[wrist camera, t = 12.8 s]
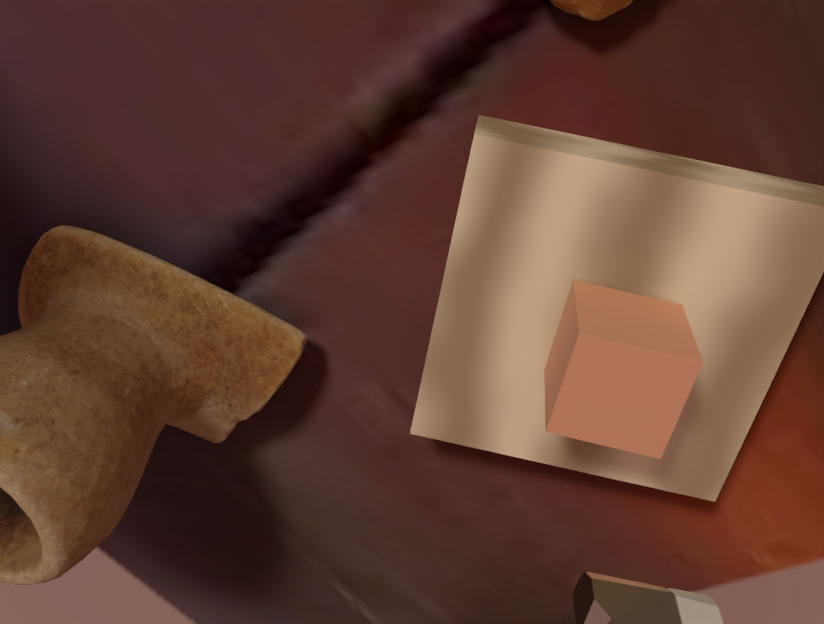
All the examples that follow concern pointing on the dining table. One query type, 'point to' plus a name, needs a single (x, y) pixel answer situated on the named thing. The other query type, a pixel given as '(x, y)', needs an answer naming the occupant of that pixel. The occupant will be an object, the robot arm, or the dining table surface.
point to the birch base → (619, 269)
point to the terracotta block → (619, 369)
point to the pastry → (591, 7)
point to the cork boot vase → (114, 387)
